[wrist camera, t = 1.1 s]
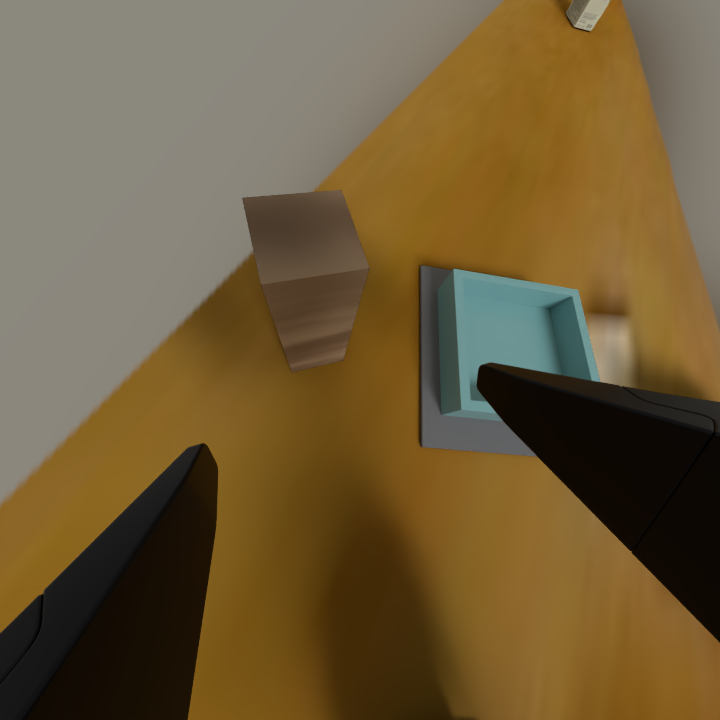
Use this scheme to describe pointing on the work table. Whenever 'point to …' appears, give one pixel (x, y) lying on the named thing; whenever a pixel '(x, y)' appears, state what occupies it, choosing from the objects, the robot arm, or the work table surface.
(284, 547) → the work table surface
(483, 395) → the robot arm
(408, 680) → the work table surface
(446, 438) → the mat
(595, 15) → the skincare box
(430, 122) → the work table surface
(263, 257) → the block
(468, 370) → the dish
